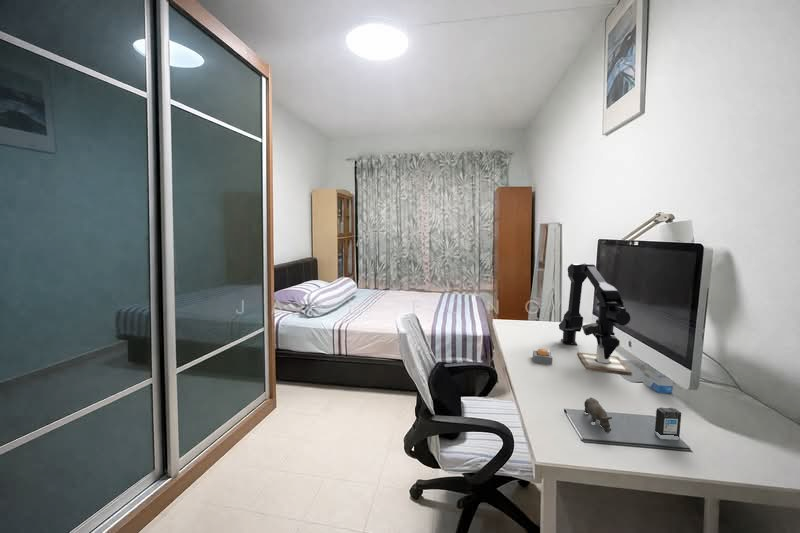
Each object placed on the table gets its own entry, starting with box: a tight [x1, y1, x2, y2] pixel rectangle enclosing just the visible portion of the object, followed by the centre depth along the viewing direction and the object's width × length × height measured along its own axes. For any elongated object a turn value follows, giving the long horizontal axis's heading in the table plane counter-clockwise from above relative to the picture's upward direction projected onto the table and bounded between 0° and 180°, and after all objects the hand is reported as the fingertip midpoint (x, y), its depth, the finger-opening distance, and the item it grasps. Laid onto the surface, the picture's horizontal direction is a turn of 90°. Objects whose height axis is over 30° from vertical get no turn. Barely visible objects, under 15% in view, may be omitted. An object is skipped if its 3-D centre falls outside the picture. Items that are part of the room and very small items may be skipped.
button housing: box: [532, 350, 553, 366], centre depth 148 cm, size 7×7×3 cm
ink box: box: [642, 362, 674, 394], centre depth 123 cm, size 9×5×12 cm, turn 179°
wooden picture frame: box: [577, 351, 633, 375], centre depth 146 cm, size 18×16×1 cm
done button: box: [537, 348, 549, 356], centre depth 148 cm, size 4×4×3 cm
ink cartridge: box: [654, 407, 682, 438], centre depth 93 cm, size 5×2×8 cm, turn 87°
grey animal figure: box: [583, 397, 613, 434], centre depth 99 cm, size 4×14×6 cm, turn 174°
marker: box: [595, 344, 610, 363], centre depth 145 cm, size 4×4×7 cm
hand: (603, 355), depth 145 cm, fingers open, 9 cm apart
